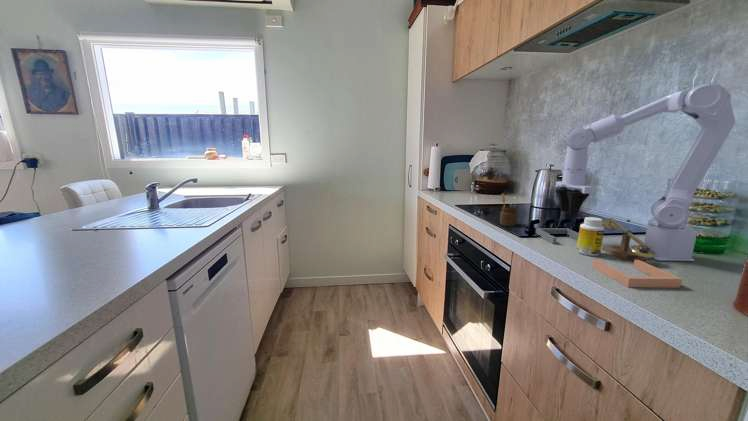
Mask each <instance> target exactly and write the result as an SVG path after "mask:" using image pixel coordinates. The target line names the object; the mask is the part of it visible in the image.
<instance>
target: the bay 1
mask: <svg viewBox="0 0 748 421" xmlns="http://www.w3.org/2000/svg"><path fill="white" fill-rule="evenodd" d="M535 233H537V234H538V235H540V236H541V237H540V236H539V237H540V238H541V239H543V240H545V241H547V242H549V243H551V244H553V245H556V244H557V239H558V237H556V236H555V235H550V234H567V235H566V236H568V235H569V236H568V237H569V238H572V239H574V240H576V241H578V236H579V232H577V231H575V230H572V229H570V228H569V227H568V228H558V227H557V228H556V227H555V228H550V227H549V228H547V227H544V228H543V227H542V228H540V227H539V228H535ZM535 233H534V234H535ZM538 235H537V236H538Z"/></svg>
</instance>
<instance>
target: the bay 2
mask: <svg viewBox="0 0 748 421" xmlns="http://www.w3.org/2000/svg"><path fill="white" fill-rule="evenodd" d="M591 266H592V268H593V269H596V270H597V271H599V272H600V273H602V274H604V275H606V276H608V277H609V278H611V279H613V280H614V281H616V282H617V283H620V285H621V284H622V286H625V287H627V288H663V289H664V288H669V289H670V288H675V289H676V288H681V286H682V281H683V279H682V278H681V277H678V276H677V275H674V274H671V273H669V272H667V271H666V270H665V271H664V270H662V269H660V268H658V267H656V266H653V265H652V264H650V263H647V262H645V261H644V260H633V266H632V267H633V268H634V269H636V270H638V271H640V272H643V273H644V274H647V275H648V276H630V275H627V274H626V273H624V272H622V271H621V270H619V269H616V268H614V266H611V265H609V264H607V263H605V262H603V261H602V260H600V259H598V258H597V259H593V261H592V265H591Z"/></svg>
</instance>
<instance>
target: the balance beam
mask: <svg viewBox="0 0 748 421" xmlns="http://www.w3.org/2000/svg"><path fill="white" fill-rule="evenodd" d="M601 226H603V227H604V229H608V230H613V231H617V230H621V231H622V235H628V236H629V237H630V239H632V240H633V241H634V242H635V243H637V244H634V245H633V244H632V245H631V246H630V247H629V248H630V250H631V252H632V253H634V254H635V255H637V256H640V257H643V258H647V259H653V258H654V257H655V252H654V251H652V250H651V249H650V248H649V247H648V246H647V245H646V244H644V241H642V240H640V238H638V237H637V236H636V235H634V234H633V233H632V231H631V230H628V229H626V228H625V227H624V226H623V225H622V224H620V223H619V222H617V221H616V220H615V219H614V218H612V217H609V219H607V218H606V219H602V225H601Z"/></svg>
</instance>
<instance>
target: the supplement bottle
mask: <svg viewBox="0 0 748 421" xmlns="http://www.w3.org/2000/svg"><path fill="white" fill-rule="evenodd" d="M583 220H584V221H583V223H581V224H580V226H579V231H578V233H579V236H578V240H577V243H576V244H577V245H576V251H577V252H578V253H579V254H582V255H585V256H591V257H596V256H600V255H601V251H602V246H603V239H604V234H605V228H604V227H603V226H601V225H602V220H603V219H602V218H599V217H592V216H588V217H587V216H586V217H584V219H583Z"/></svg>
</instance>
